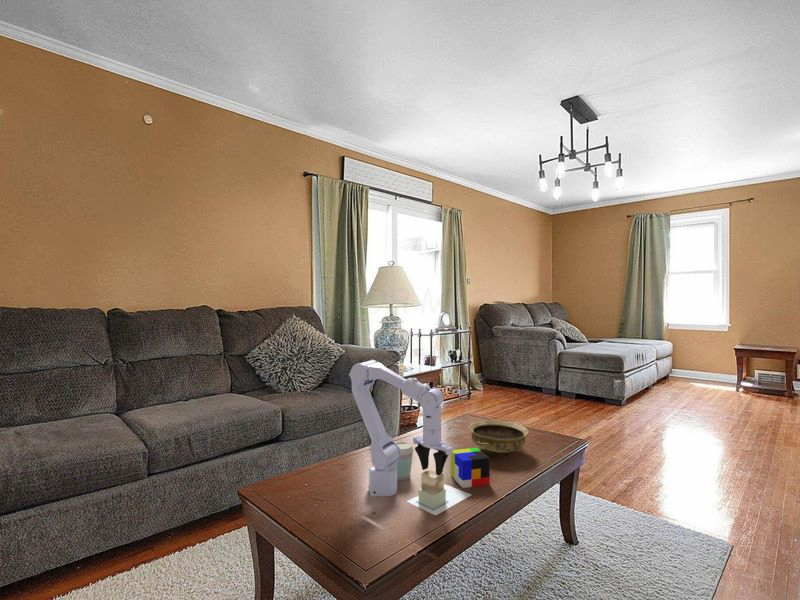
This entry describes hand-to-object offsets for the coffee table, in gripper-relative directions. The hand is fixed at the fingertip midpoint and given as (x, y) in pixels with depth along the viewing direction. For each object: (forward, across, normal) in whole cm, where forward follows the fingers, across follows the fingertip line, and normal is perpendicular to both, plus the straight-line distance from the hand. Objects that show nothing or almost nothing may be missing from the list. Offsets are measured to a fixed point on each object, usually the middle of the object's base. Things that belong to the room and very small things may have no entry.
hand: (432, 471), depth 134 cm
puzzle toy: (+11, +1, -21) cm, 24 cm away
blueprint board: (+10, 0, -4) cm, 11 cm away
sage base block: (+10, 0, 0) cm, 10 cm away
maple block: (+6, 0, 0) cm, 6 cm away
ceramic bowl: (+11, +9, -53) cm, 55 cm away
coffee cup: (+11, +20, -7) cm, 23 cm away
